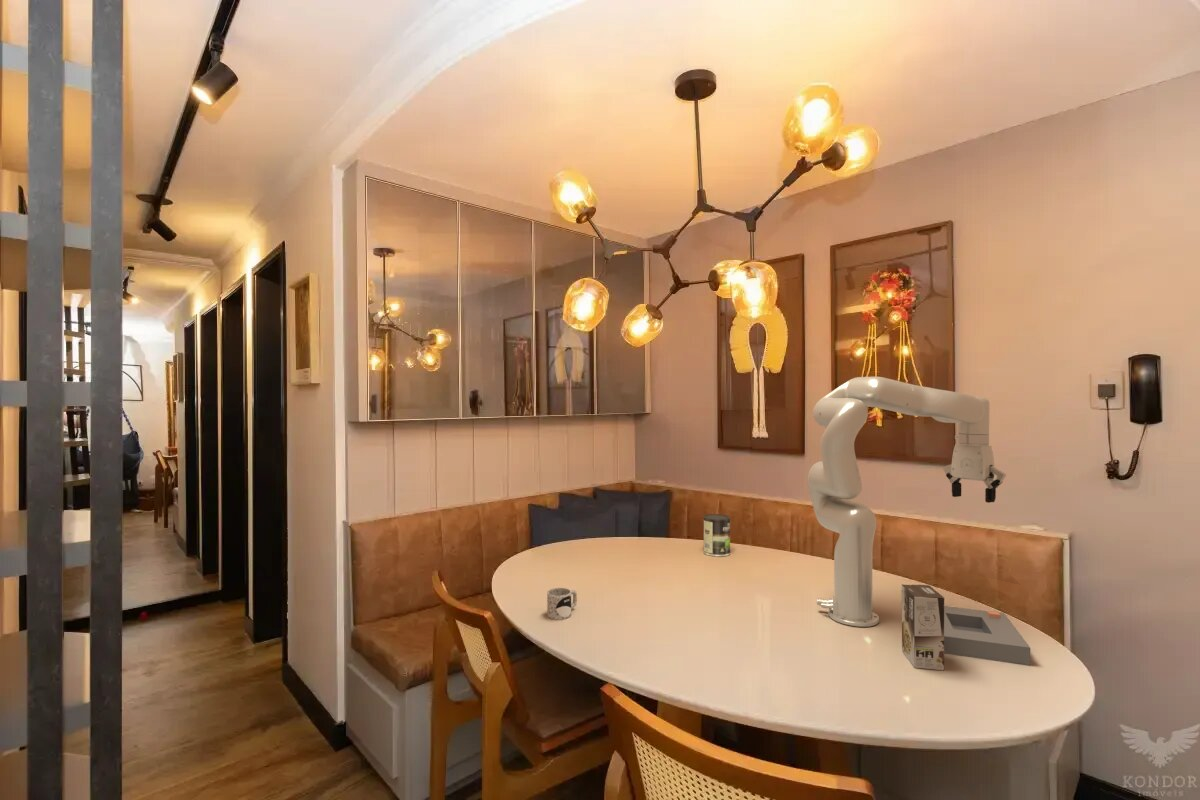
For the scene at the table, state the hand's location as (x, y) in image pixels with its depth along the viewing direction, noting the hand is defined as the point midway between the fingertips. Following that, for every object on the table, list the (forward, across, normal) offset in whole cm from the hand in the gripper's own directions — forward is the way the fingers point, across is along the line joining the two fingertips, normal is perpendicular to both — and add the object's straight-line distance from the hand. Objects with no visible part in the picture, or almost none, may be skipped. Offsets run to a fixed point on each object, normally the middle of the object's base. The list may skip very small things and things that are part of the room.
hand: (972, 499), depth 166 cm
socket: (+31, +15, -24) cm, 42 cm away
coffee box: (+31, +18, -45) cm, 58 cm away
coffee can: (+31, -76, -35) cm, 89 cm away
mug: (+32, -43, -110) cm, 122 cm away
